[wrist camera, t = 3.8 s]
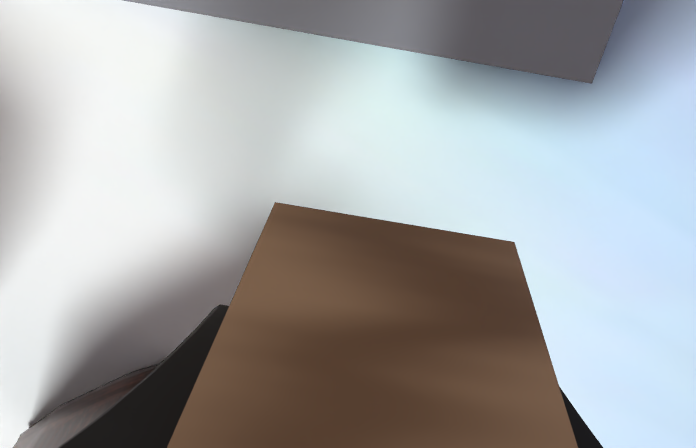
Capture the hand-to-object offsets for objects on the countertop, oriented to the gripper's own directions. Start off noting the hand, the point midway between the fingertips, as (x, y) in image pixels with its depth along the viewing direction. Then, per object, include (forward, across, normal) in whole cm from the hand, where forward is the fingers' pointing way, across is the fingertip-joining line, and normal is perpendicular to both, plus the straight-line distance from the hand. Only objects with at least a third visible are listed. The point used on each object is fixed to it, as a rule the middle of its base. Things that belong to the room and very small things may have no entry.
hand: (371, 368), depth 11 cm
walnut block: (+2, 0, 0) cm, 2 cm away
